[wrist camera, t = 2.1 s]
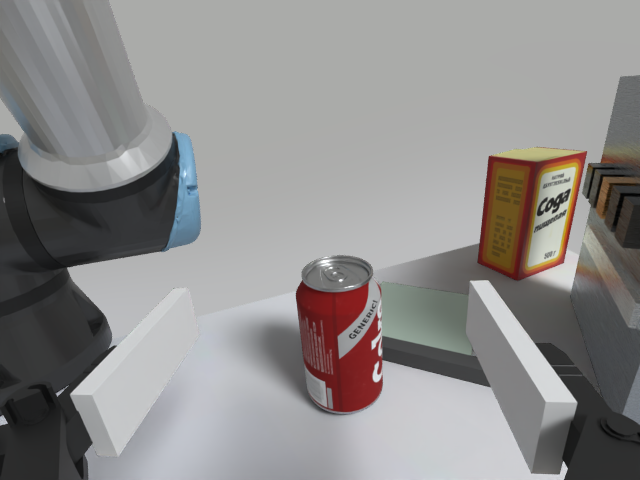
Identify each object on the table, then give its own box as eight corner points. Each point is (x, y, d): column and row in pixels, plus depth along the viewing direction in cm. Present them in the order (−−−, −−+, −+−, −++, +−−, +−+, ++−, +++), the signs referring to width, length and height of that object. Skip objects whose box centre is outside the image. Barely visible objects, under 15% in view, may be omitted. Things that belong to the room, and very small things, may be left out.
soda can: (320, 431, 27) (306, 302, 23) (299, 372, 33) (285, 261, 29) (396, 405, 29) (397, 280, 25) (363, 354, 35) (359, 246, 31)
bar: (309, 341, 38) (308, 329, 37) (316, 332, 39) (314, 320, 38) (519, 394, 29) (522, 379, 29) (518, 380, 30) (521, 366, 30)
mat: (351, 336, 38) (351, 333, 38) (382, 284, 48) (382, 281, 48) (470, 364, 33) (470, 360, 33) (477, 299, 43) (477, 296, 42)
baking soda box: (521, 247, 55) (537, 144, 49) (563, 262, 49) (587, 148, 43) (477, 262, 51) (489, 153, 45) (517, 280, 46) (536, 158, 40)
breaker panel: (588, 428, 26) (694, 74, 17) (554, 294, 42) (599, 78, 33) (669, 450, 24) (840, 63, 15) (601, 300, 40) (662, 73, 31)
